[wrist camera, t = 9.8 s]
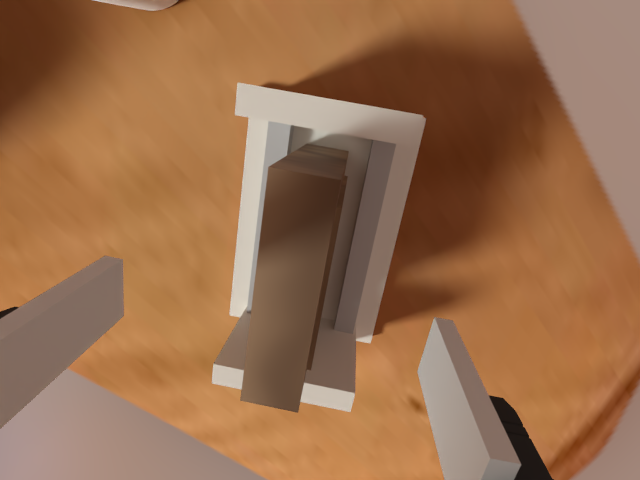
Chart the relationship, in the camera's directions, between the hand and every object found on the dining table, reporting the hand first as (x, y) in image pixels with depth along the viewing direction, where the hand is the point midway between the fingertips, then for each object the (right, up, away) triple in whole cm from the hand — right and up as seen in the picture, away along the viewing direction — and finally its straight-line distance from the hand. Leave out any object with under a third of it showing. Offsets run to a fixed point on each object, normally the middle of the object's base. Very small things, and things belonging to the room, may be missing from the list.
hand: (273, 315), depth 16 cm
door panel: (+2, +4, +13) cm, 13 cm away
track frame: (+2, +4, +14) cm, 14 cm away
